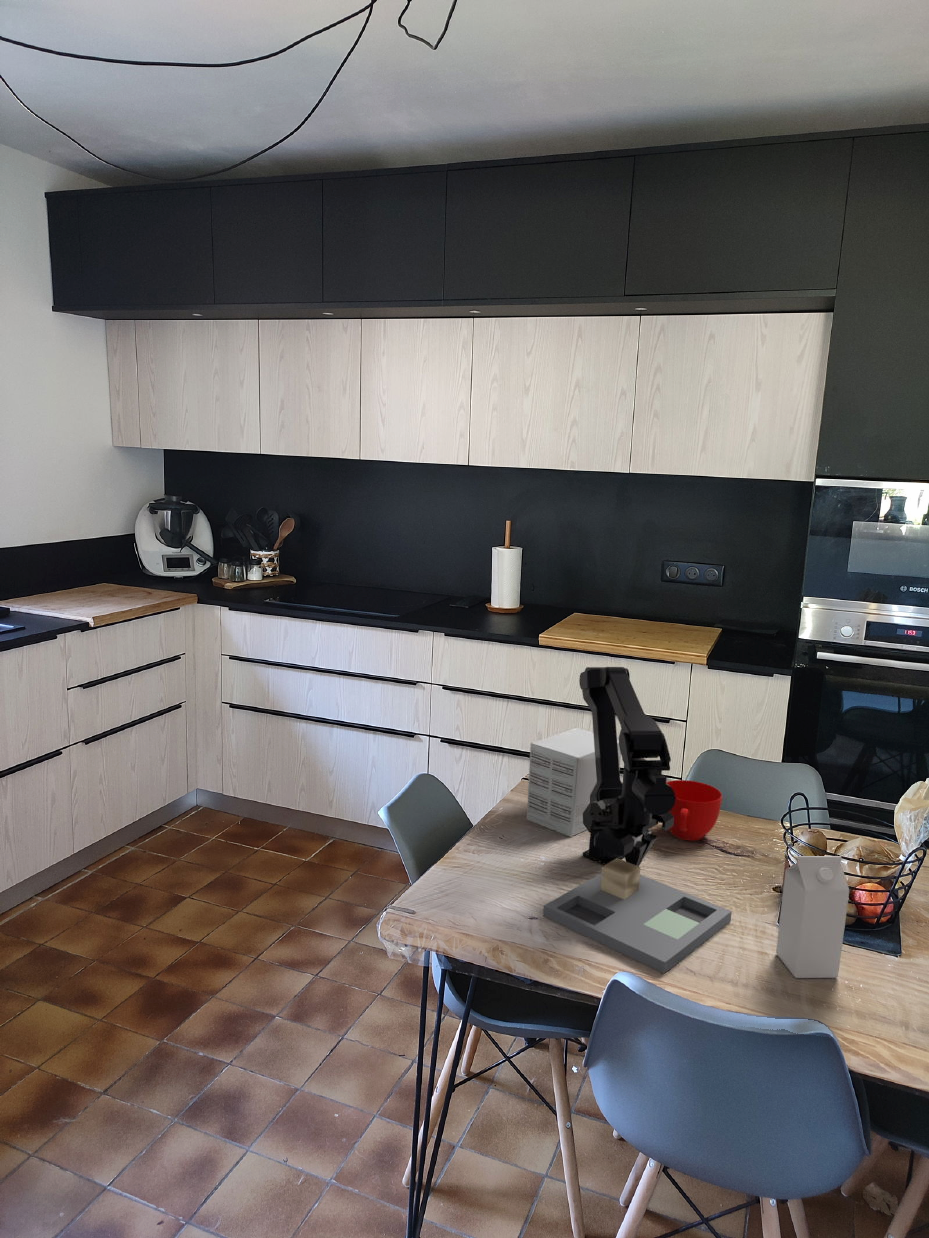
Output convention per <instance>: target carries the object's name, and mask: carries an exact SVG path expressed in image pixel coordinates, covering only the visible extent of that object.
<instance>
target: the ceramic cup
mask: <svg viewBox="0 0 929 1238" xmlns="http://www.w3.org/2000/svg"><path fill="white" fill-rule="evenodd" d="M666 783H667V784H668V785H669V786H670V787H671V788H672V789H673V791H674V792H675V796H676V801H675V804H674V806H673V808H672V809H671V810H670V812H671V814H672V815H673V817H674V823H673V827H671V828H670V829H668V830H669V831H670V832H671V835H673V836H674V837H675V838H678V839H681V840H685V841H689V842H690V841H694V842H695V841H700V840H702V839H703V837H706V835H707V834H708V833H709V832H710V831H711V830H712V829H713V827H715V825H716V823H717V821H718V818H719V815H720V812H721V806H722V802H723V801H722V800H723V795H722V792H721V791H720V790H719V789H718V788H716V787H714V786H712V785H710V784H707V783H703V782H699V781H693V780H687V779H677V780H675V779H674V780H669V781H666Z"/></svg>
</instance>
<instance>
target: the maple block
mask: <svg viewBox="0 0 929 1238" xmlns="http://www.w3.org/2000/svg"><path fill="white" fill-rule="evenodd" d="M601 873H602V878H601V890H603V891H605V892H608V893H610V894H612V895H615V896H617V897H620V898H622V899H626V898H627V897H629V896H630V895H632V894H633V893H635V892H637V891H638V890H639V881H640V875H641V866H640V865H639V866H636V865H634V864H631V863H628V862H626V860H624V859H623V860H622V859H618V858H616V859H615V860H613V861H611V862H610V863H608V864H606V865H605V864H603V866H602V868H601Z"/></svg>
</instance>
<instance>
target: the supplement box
mask: <svg viewBox="0 0 929 1238" xmlns="http://www.w3.org/2000/svg"><path fill="white" fill-rule="evenodd" d="M617 745H618V758H619V771H621V760H622V755H621V752H620V748H619V739H617ZM529 750H530V751H529V766H528V767H529V770H528V787H527V808H526V809H527V811H526V820H527V821H530V822H533V823H535V824H537V825H540V826H542V827H544V826H545V828H548V829H550V830H551V831H554V830H555V831H554V832H557V833H560V834H562V835H563V836H564V835H565V836H567V837H570V838H572V837H573V836H576V835H578V834H580V833H583V832H585V831H588V830H587V829H586V827H585V826H584V824H583V812H584V811H585V809H586V808H587V806H588V805H589V803H590V794H591V792H592V790H593V788H594V786H595V785H596V783H597V777H596V763H595V749H594V734H593V732H592V731H590V730H589V731H588V730H585V729H583V728H579V727H574V728H571V729H569V730H566V731H563V732H560V733H557V734H555V735H554V734H553V735H551V736H548V737H545V738H542V739H540V740H536V741H534V742H530V749H529Z"/></svg>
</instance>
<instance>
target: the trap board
mask: <svg viewBox="0 0 929 1238" xmlns="http://www.w3.org/2000/svg"><path fill="white" fill-rule="evenodd" d="M601 878H602V872H601V873H599V874H598V875H595V876H594V877H592V878H590V879H589V880H586V881H585V882H583V883H581V884H580V885H578V886H576V887H575V888H572V889H571V890H568V891H567V892H565V893H563V894H562V895H560V896H558V897H557V898H555V899H552V900H551V901H550V902H547V903H546V904H544V905H543V912H542V916H543V918H546V919H548V920H550V921H552V922H555V923H557V924H559V925H561V926H562V927H565V928H567V929H569V930H571V931H574V932H576V933H578V934H580V935H582V936H584V937H586V938H588V939H589V940H592V941H594V942H596V943H599V944H600V945H603V946H605V947H607V948H608V949H609V948H610V949H611V950H613V951H615V952H617V953H620V954H622V955H623V956H625V957H628V958H630V959H632V960H634V961H637V963H641V964H642V965H645V966H646V967H648V968H651V969H653V970H655V971H656V972H657V971H658V972H659V973H661V974H666V973H667V972H669V970H671V969H672V968H673V967H675V966H676V965H678V964H679V963H680V962H682V960H684V959H685V958H686V957H687V956H689V955H690V954H691V953H693V952H694V951H695V950H697V949H698V948H699V947H700V946H701V945H703V944H704V943H706V942H707V941H708V940H709V939H711V938H712V937H713V936H714V935H716V934H717V933H719V931H721V930H722V929H723V928H725V927H726V926H727V925H728V924H729V923H730V922H731V920H732V913H733V912H732V910H731V909H727V908H725V907H724V906H723V907H722V906H720V905H717V904H715V903H713V902H710V901H707V900H705V899H704V898H703V899H702V898H699V897H698V896H695V895H693V894H690V893H687V892H685V891H683V890H680V889H677V888H675V887H672V886H669V885H668V884H665V883H663V882H659V881H657V880H655V879H652V878H650V877H647V876H645V875H644V874H643V875H642V874H640V881H639V890H638V891H637V892H635V893H633V894H632V895H630V896H629V897H627V898H626V899H622V898H620V897H617V896H615V895H612V894H610V893H608V892H605V891H603V890H601Z"/></svg>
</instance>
